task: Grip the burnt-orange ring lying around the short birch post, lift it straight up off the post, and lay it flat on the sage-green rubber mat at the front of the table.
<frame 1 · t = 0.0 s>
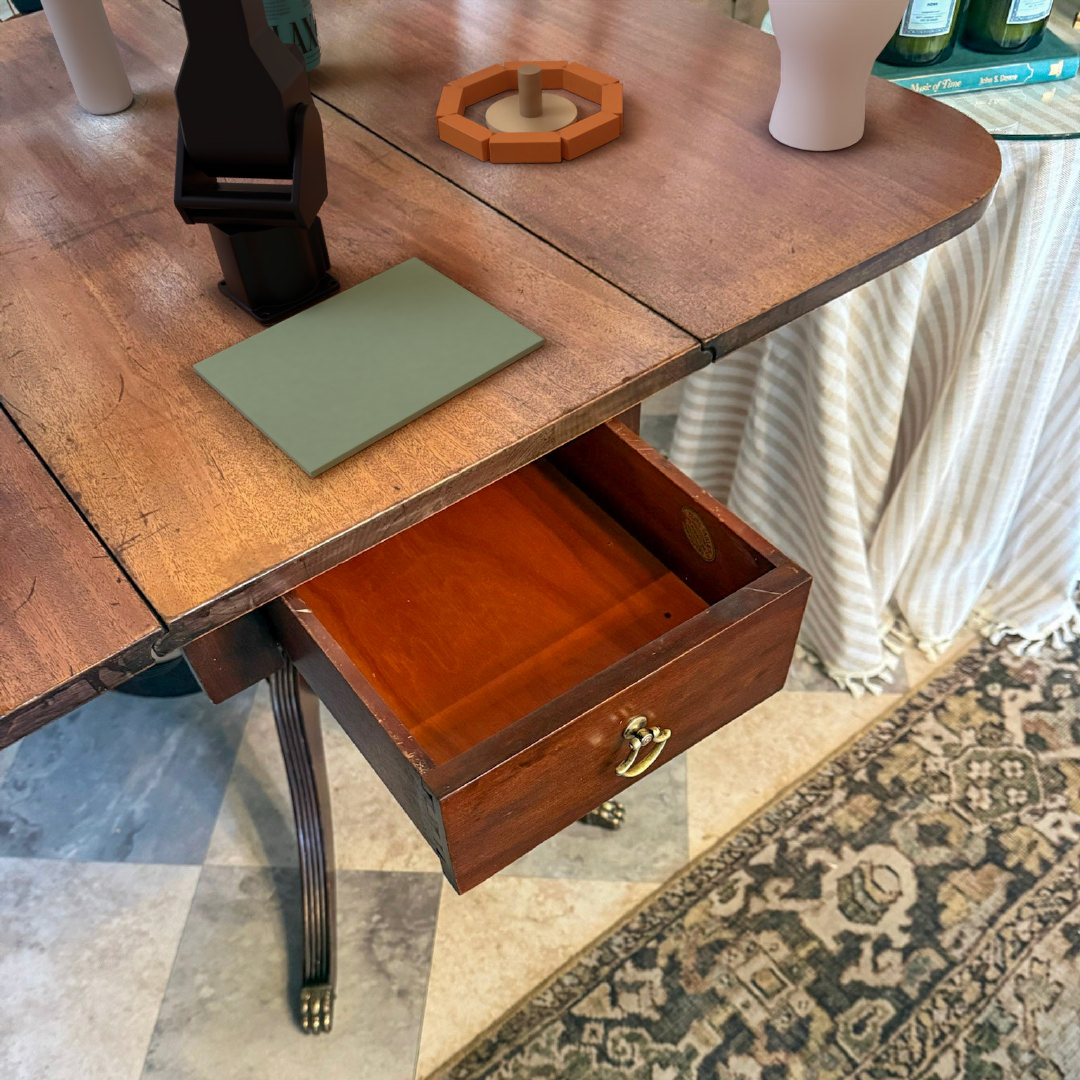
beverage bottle: (293, 81, 95), on the table
pale pink vase: (815, 132, 84), on the table
stand: (531, 119, 87), on the table
mat: (369, 358, 65), on the table
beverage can: (109, 107, 93), on the table
ring: (531, 119, 87), on the table
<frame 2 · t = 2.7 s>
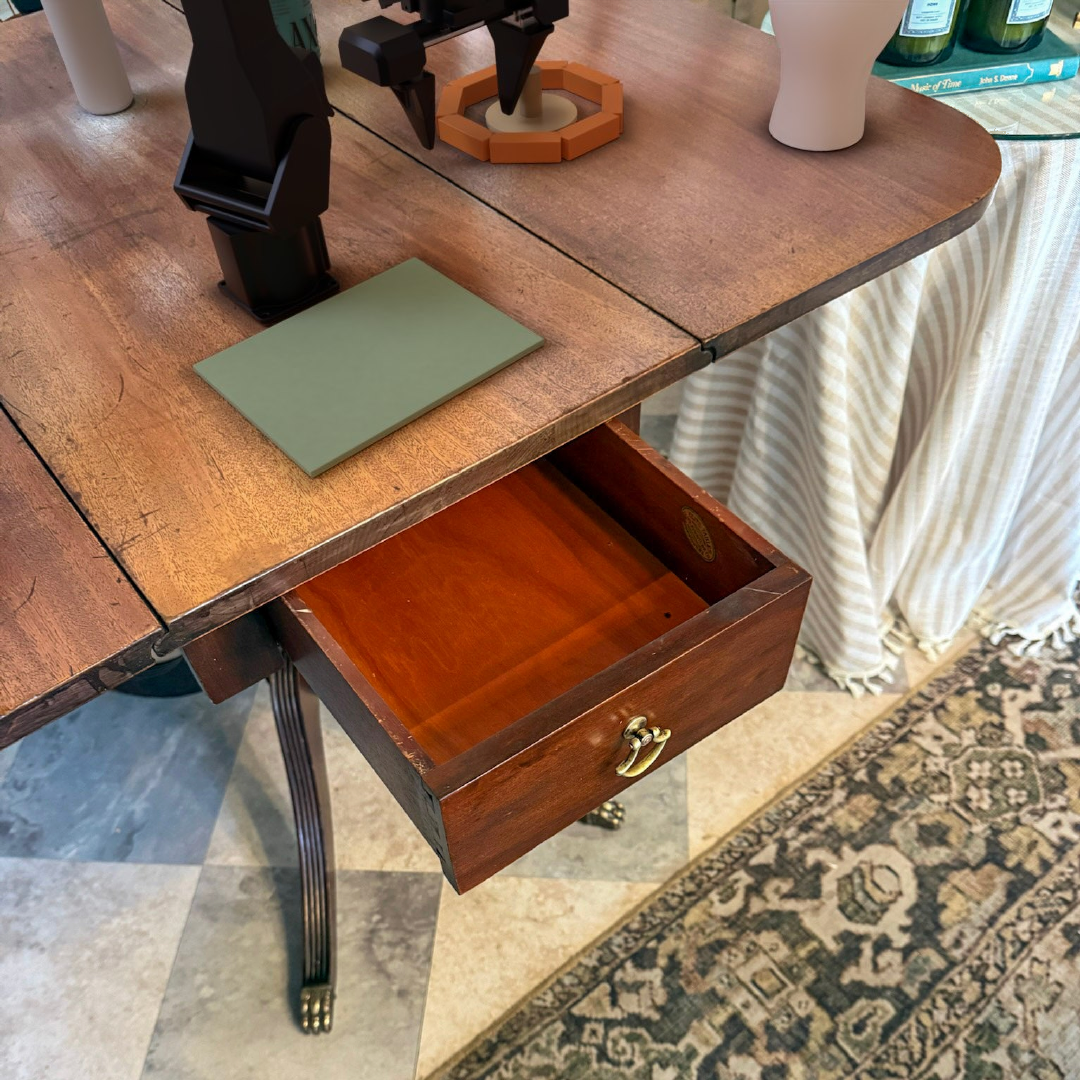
hand: (468, 130, 83), 1 cm above the table, tool pointing down, fingers open, 8 cm apart
nothing on the table moved.
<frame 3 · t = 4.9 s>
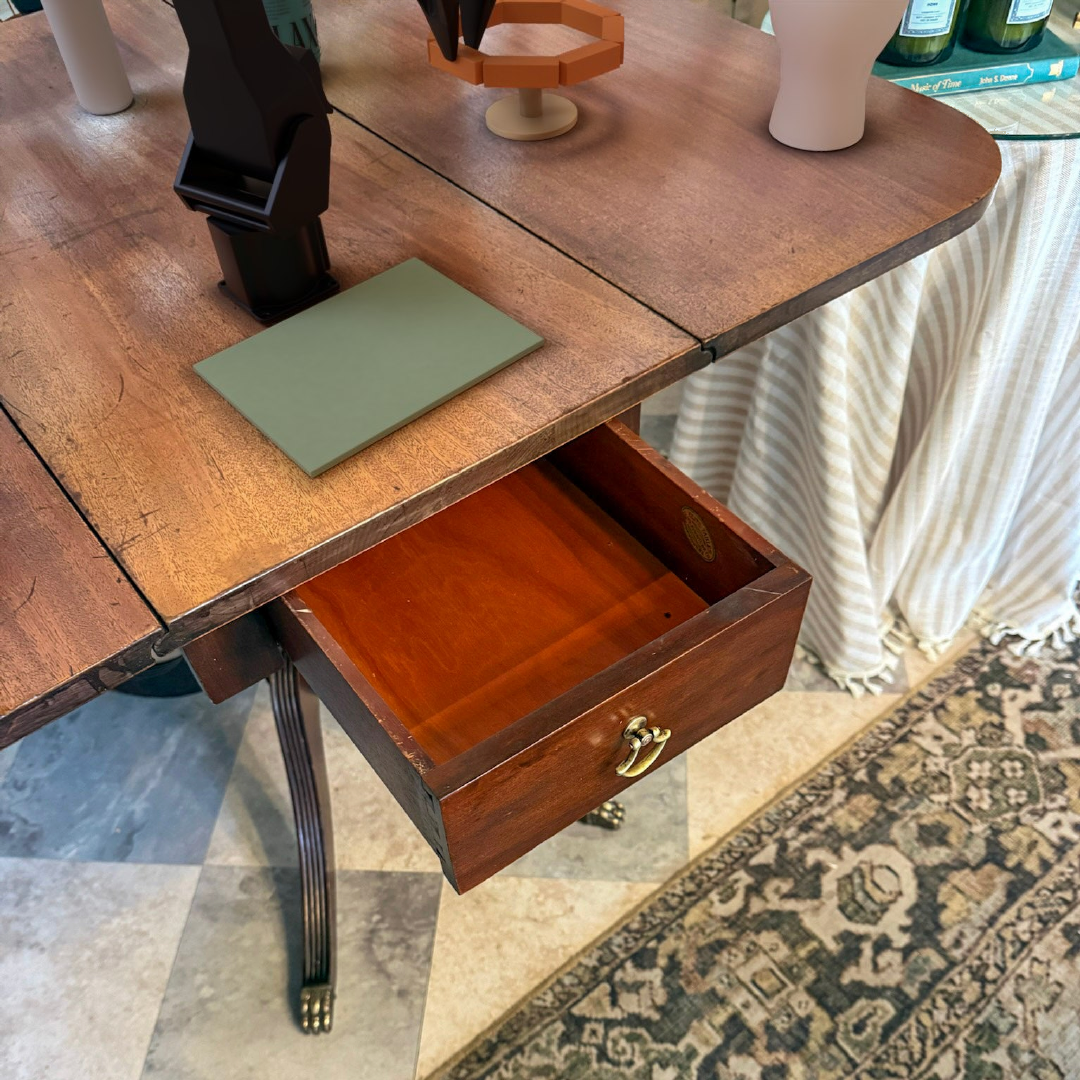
hand: (461, 56, 79), 7 cm above the table, tool pointing down, fingers closed on ring
ring: (527, 50, 83), point 6 cm above the table, touching gripper
everything else where it was.
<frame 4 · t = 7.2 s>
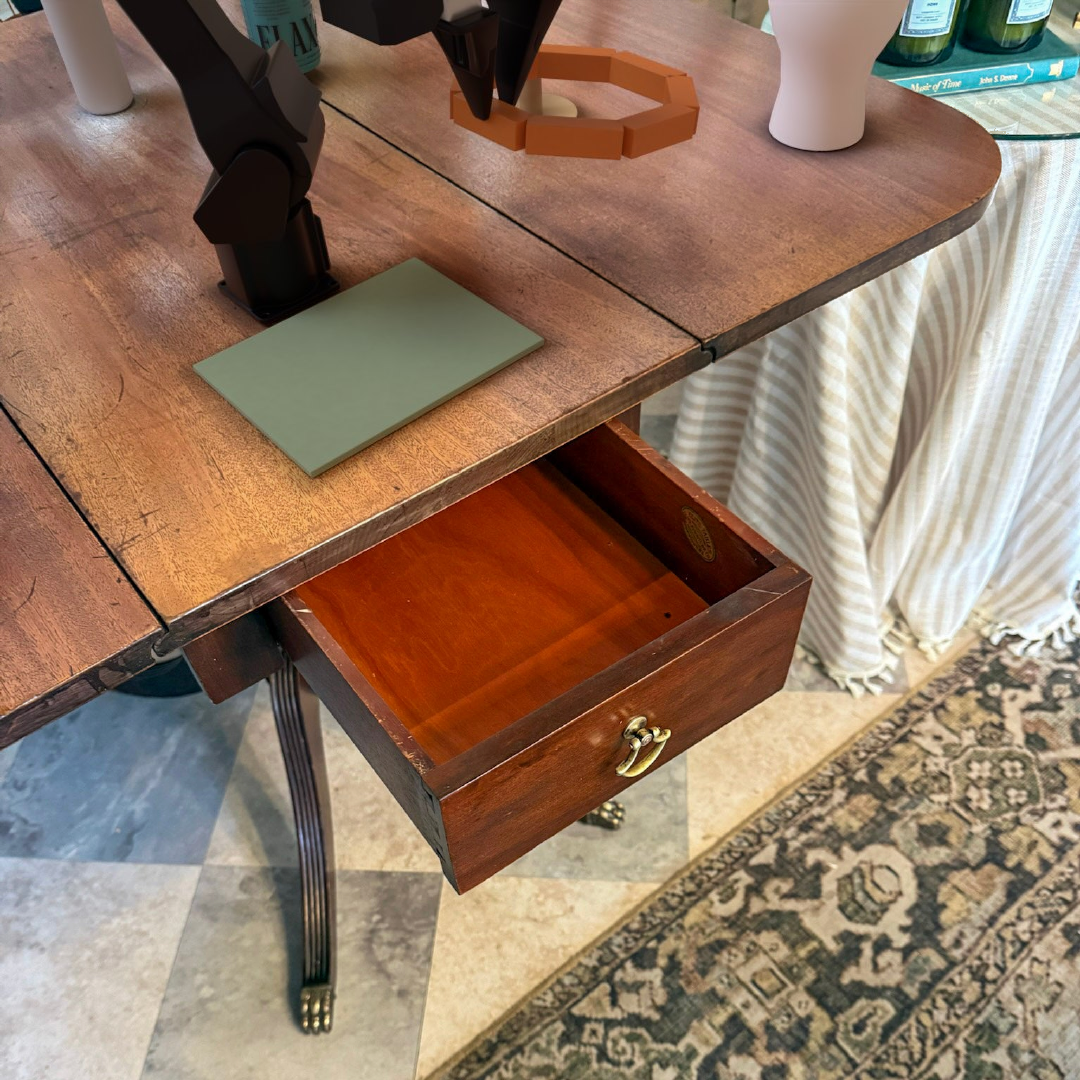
hand: (494, 112, 62), 12 cm above the table, tool pointing down, fingers closed on ring
ring: (573, 111, 66), point 10 cm above the table, tilted 7°, touching gripper
everything else where it was.
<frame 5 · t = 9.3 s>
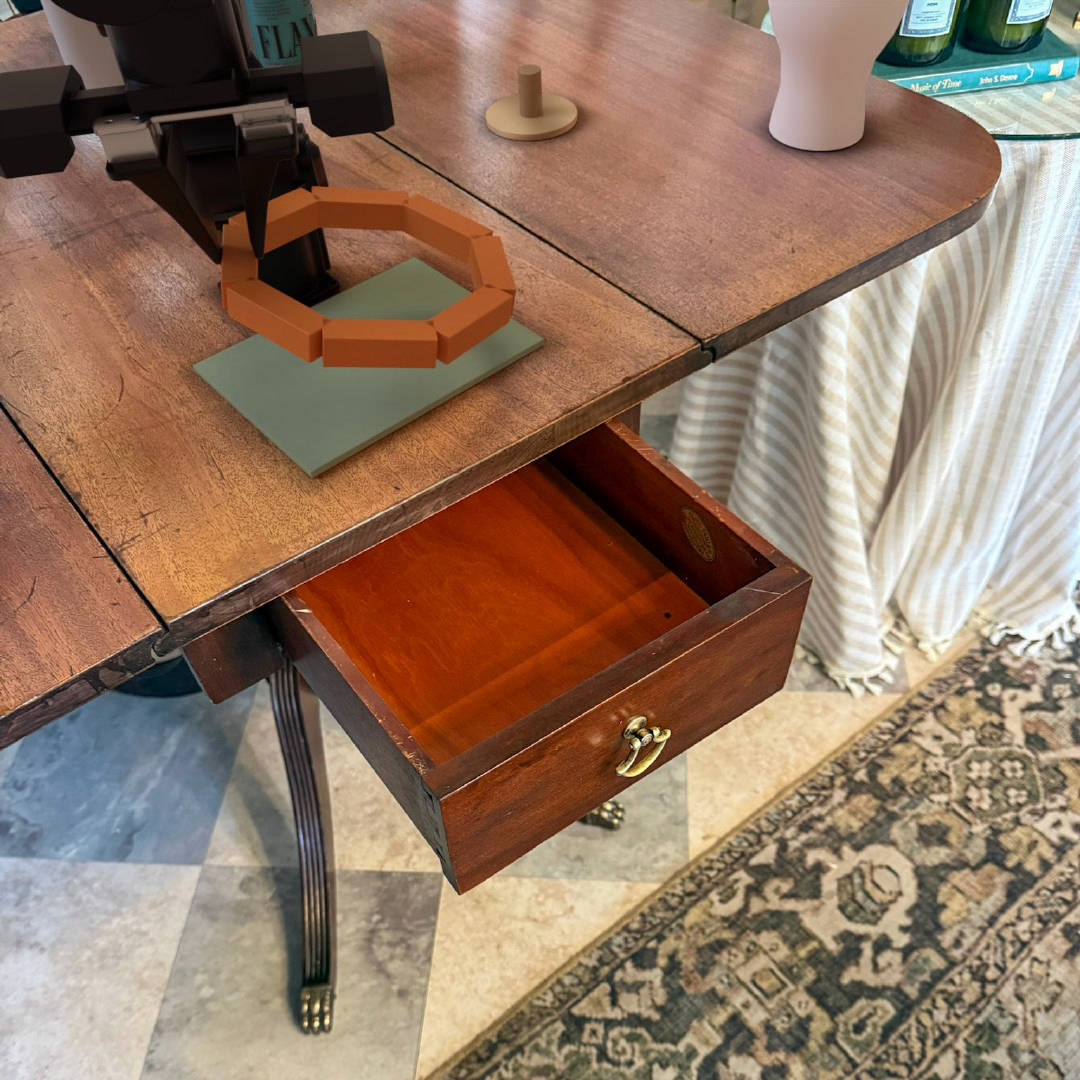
hand: (240, 257, 55), 10 cm above the table, tool pointing down, fingers closed on ring
ring: (368, 284, 57), point 8 cm above the table, tilted 11°, touching gripper
everything else where it was.
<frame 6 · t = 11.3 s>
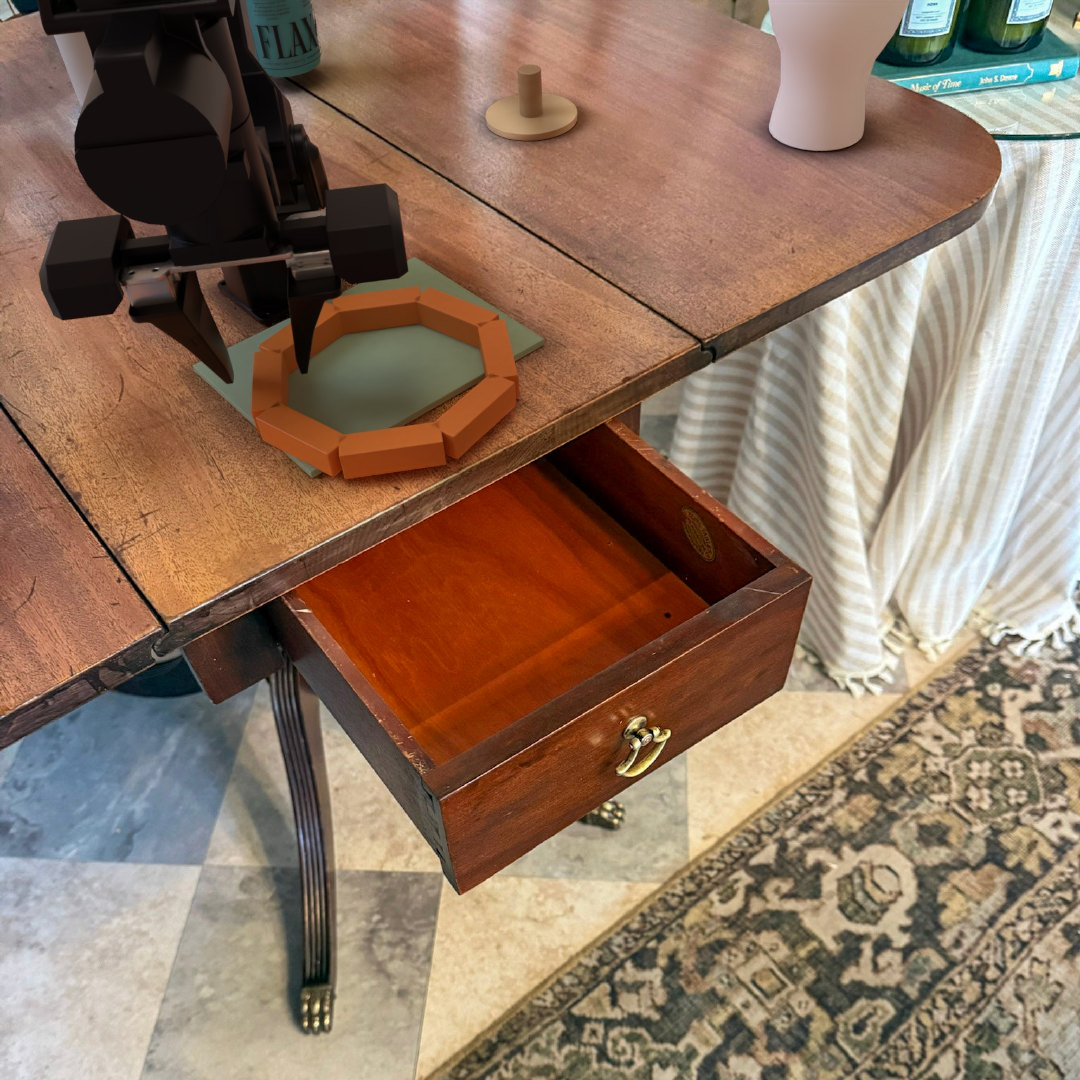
hand: (267, 374, 60), 3 cm above the table, tool pointing down, fingers open, 4 cm apart
ring: (387, 386, 62), resting on mat
everything else where it was.
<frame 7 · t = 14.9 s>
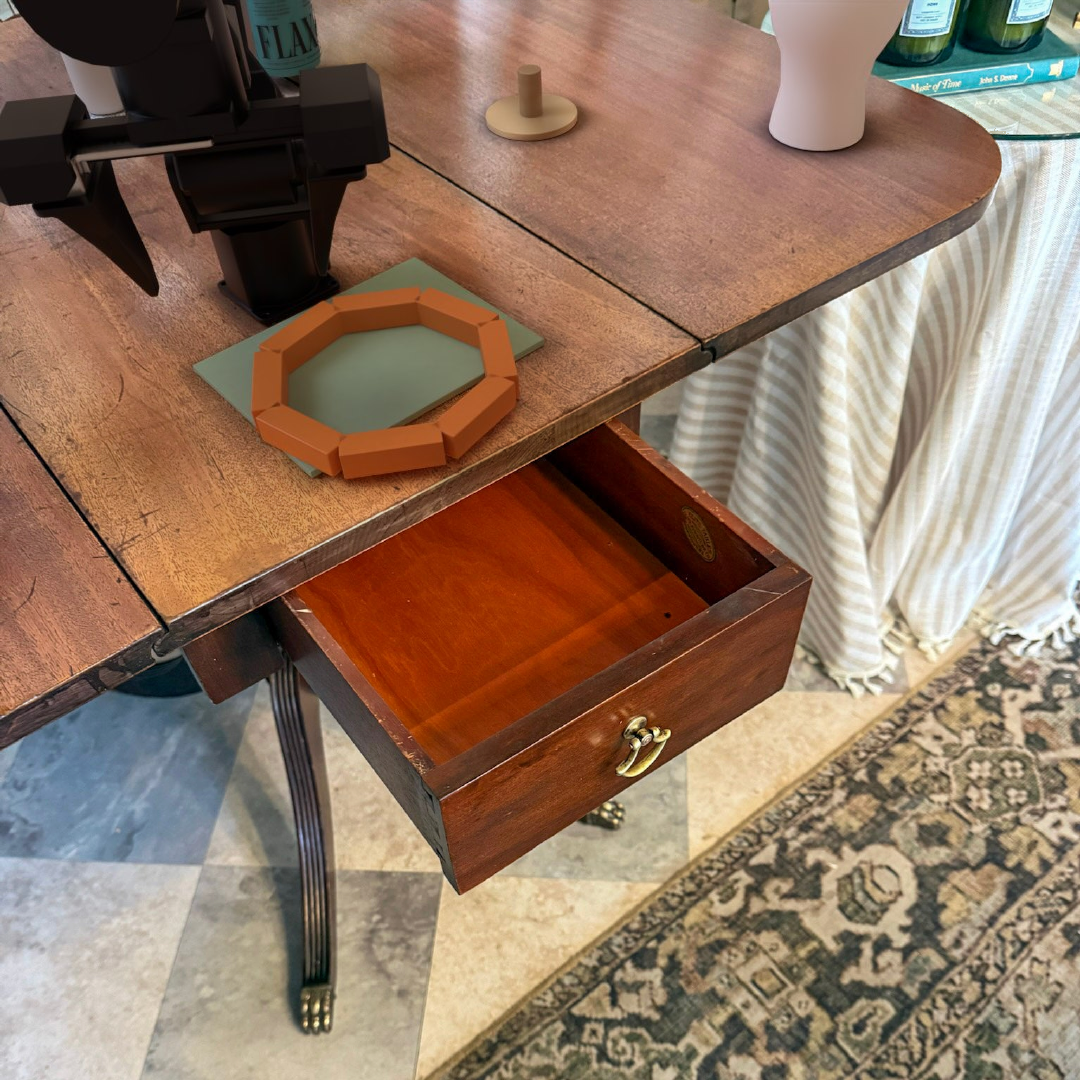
hand: (240, 282, 56), 9 cm above the table, tool pointing down, fingers open, 9 cm apart
nothing on the table moved.
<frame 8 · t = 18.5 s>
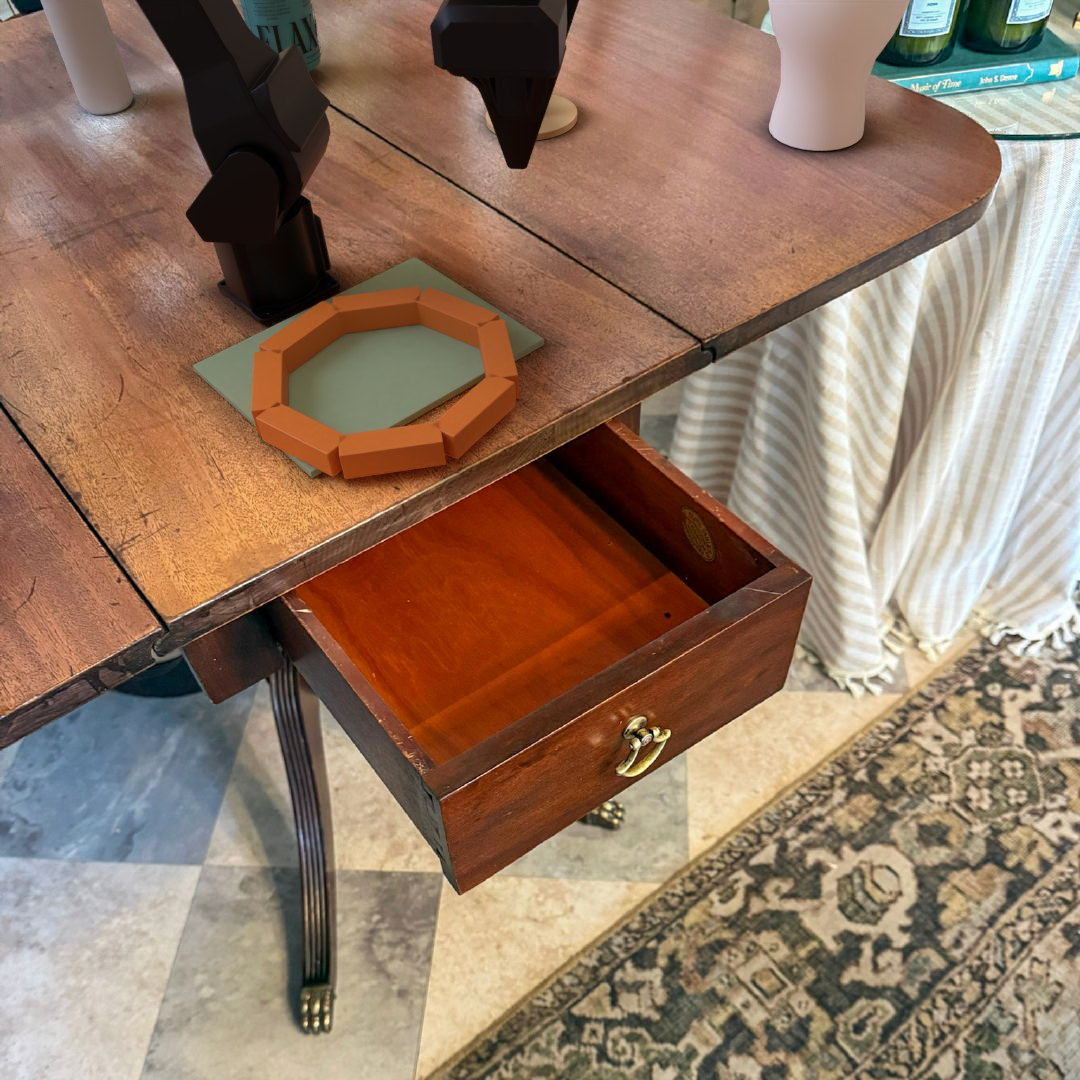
hand: (529, 130, 60), 12 cm above the table, tool pointing down, fingers open, 9 cm apart
nothing on the table moved.
at the end: ring inside the target area on the mat (4.0 cm from its centre), point 0.5 cm above the mat's base; ring touching mat; ring tilted 0° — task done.
